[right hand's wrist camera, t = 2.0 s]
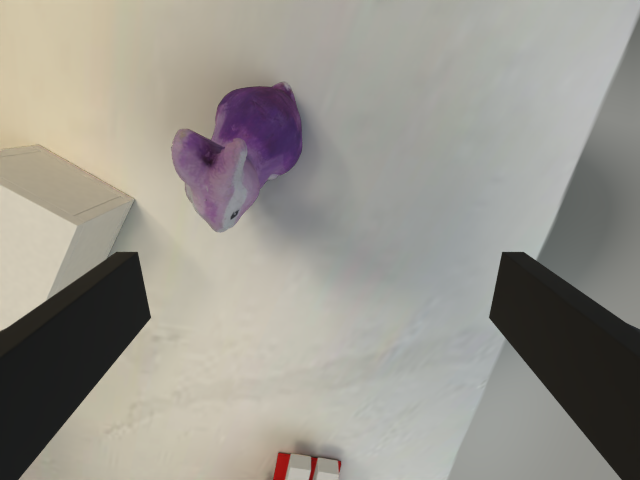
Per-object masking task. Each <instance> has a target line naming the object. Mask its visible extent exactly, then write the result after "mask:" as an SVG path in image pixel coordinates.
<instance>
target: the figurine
mask: <svg viewBox="0 0 640 480" xmlns="http://www.w3.org/2000/svg"><path fill="white" fill-rule="evenodd" d="M215 121H216V125H215V130H214V134H213V136H212V139H211V140H209V139H207V138H205V137H203V136H201V135H199V134H197V133H195V132H193V131H191V130H189V129H180V130H179V131H178V132H177V134H176V135H175V138H174V140H173V145H172V147H171V150H172V159H173V164H174V166H175V170H176V172H177V174H178V175H179V177H180V178H181V179H182V180H183V181H184V182H185V191H186V195H187V197H188V199H189V200H190V202H191V203H192V204H193V206H194V209H195V211H196V212H197V213H198V214H199V215H200V216H201V217H202V218H203V219H204V220H205V221H206V222H207V223H208V224H209V225H210V227H211V228H212V229H213V230H215V231H216V232H224V231H226V230H227V229H228V228H231V227H233V226H234V225H235V224H236V223H237V222H238V220H239V219H240V217H241V216H242V215H243V213H244V212H245V211H246V210H247V209H248V208H249V207H250V206H251V205H252V204H253V203H254V201H255V200H256V198H257V197H258V194H259V190H260V188H261V187H262V186H263V185H264V184H265V182H266V181H267V180H273V179H275V178H276V177H278V176H279V175H282V174H284V173H286V172H287V171H289V170H290V169H291V168H292V167H293V166H294V165H295V164H296V162H297V161H298V158H299V156H300V154H301V151H302V129H301V119H300V115H299V112H298V109H297V106H296V101H295V98H294V94H293V91H292V89H291V87H290V86H289V84H288V83H287V82H280V83H278V84H276V85H274V86H273V87H261V86H259V87H247V88H240V89H236V90H233V91H231V92H230V93H228V94H227V95H226V96H225V97H224V98H223V99H222V101H221V102H220V104H219V105H218V108H217V113H216V119H215Z"/></svg>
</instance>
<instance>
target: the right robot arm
mask: <svg viewBox="0 0 640 480" xmlns="http://www.w3.org/2000/svg"><path fill="white" fill-rule="evenodd" d="M150 318H151V316H150V311H149V306H148V301H147V296H146V291H145V286H144V281H143V276H142V271H141V266H140V261H139V256H138V252H116V253H114V254H113V255H111V256H110V257H109V258H107V259H106V260H104V261H103V262H101V263H100V264H98V265H97V266H96V267H94V268H93V269H91V270H90V271H88V272H87V273H85V274H84V275H83V276H81V277H80V278H78V279H77V280H75V281H74V282H72V283H71V284H69V285H68V286H67V287H65V288H64V289H62V290H61V291H59V292H58V293H56V294H55V295H54V296H52V297H51V298H49V299H48V300H46V301H45V302H43V303H42V304H41V305H39V306H38V307H36V308H35V309H33V310H32V311H30V312H29V313H28V314H26V315H25V316H23V317H22V318H20V319H19V320H17V321H16V322H15V323H13V324H12V325H10V326H9V327H7V328H5V329H3V330H1V331H0V480H18V479H19V478H20V477H21V476H22V475H23V473H24V472H25V471H26V470H27V468H28V467H29V466H30V465H31V464H32V462H33V461H34V460H35V459H36V457H37V456H38V455H39V454H40V453H41V451H42V450H43V449H44V448H45V446H46V445H47V444H48V443H49V442H50V440H51V439H52V438H53V437H54V435H55V434H56V433H57V432H58V431H59V429H60V428H61V427H62V426H63V424H64V423H65V422H66V421H67V420H68V418H69V417H70V416H71V415H72V413H73V412H74V411H75V410H76V409H77V407H78V406H79V405H80V404H81V402H82V401H83V400H84V399H85V398H86V396H87V395H88V394H89V393H90V391H91V390H92V389H93V388H94V387H95V385H96V384H97V383H98V382H99V380H100V379H101V378H102V377H103V376H104V374H105V373H106V372H107V371H108V369H109V368H110V367H111V366H112V365H113V363H114V362H115V361H116V360H117V358H118V357H119V356H120V355H121V354H122V352H123V351H124V350H125V349H126V347H127V346H128V345H129V344H130V343H131V341H132V340H133V339H134V338H135V337H136V335H137V334H138V333H139V332H140V330H141V329H142V328H143V327H144V326H145V324H146V323H147V322H148V321H149V319H150ZM489 318H490V319H491V321H492V322H493V323H494V324H495V326H496V327H497V328H498V329H499V330H500V332H501V333H502V334H503V335H504V337H505V338H506V339H507V340H508V341H509V343H510V344H511V345H512V346H513V347H514V349H515V350H516V351H517V352H518V354H519V355H520V356H521V357H522V358H523V360H524V361H525V362H526V363H527V365H528V366H529V367H530V368H531V369H532V371H533V372H534V373H535V374H536V376H537V377H538V378H539V379H540V380H541V382H542V383H543V384H544V385H545V387H546V388H547V389H548V390H549V391H550V393H551V394H552V395H553V396H554V398H555V399H556V400H557V401H558V402H559V404H560V405H561V406H562V407H563V409H564V410H565V411H566V412H567V413H568V415H569V416H570V417H571V418H572V419H573V421H574V422H575V423H576V424H577V426H578V427H579V428H580V429H581V431H582V432H583V433H584V434H585V435H586V437H587V438H588V439H589V440H590V442H591V443H592V444H593V445H594V446H595V448H596V449H597V450H598V451H599V453H600V454H601V455H602V456H603V457H604V459H605V460H606V461H607V462H608V463H609V465H610V466H611V467H612V468H613V470H614V471H615V472H616V473H617V475H618V476H619V477H620V478H621V479H622V480H640V329H638V328H636V327H634V326H631V325H629V324H627V323H625V322H624V321H623V320H621V319H620V318H618V317H617V316H615V315H614V314H612V313H611V312H610V311H608V310H607V309H605V308H604V307H602V306H601V305H599V304H598V303H596V302H595V301H594V300H592V299H591V298H589V297H588V296H586V295H585V294H584V293H582V292H581V291H579V290H578V289H576V288H575V287H573V286H572V285H570V284H569V283H568V282H566V281H565V280H563V279H562V278H560V277H559V276H557V275H556V274H555V273H553V272H552V271H550V270H549V269H547V268H546V267H544V266H543V265H541V264H540V263H539V262H537V261H536V260H534V259H533V258H531V257H530V256H529V255H527V254H526V253H524V252H502V256H501V261H500V266H499V271H498V276H497V281H496V286H495V291H494V296H493V301H492V306H491V311H490V316H489Z"/></svg>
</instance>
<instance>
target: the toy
mask: <svg viewBox="0 0 640 480" xmlns="http://www.w3.org/2000/svg"><path fill="white" fill-rule="evenodd" d="M340 467H341V461H337V460H331V459H325V458H313V457H311V456H306V455H299V454H293V453H291V455H290V454H283V453H278V458H277V463H276V468H275V473H274V479H273V480H338V477H339V472H340Z"/></svg>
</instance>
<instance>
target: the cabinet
mask: <svg viewBox="0 0 640 480" xmlns="http://www.w3.org/2000/svg"><path fill="white" fill-rule="evenodd" d="M133 202H134V199H133V198H132V197H130V196H128V195H126V194H125V193H123V192H121V191H119V190H118V189H116V188H114V187H112V186H110V185H109V184H107V183H105V182H103V181H102V180H100V179H98V178H96V177H95V176H93V175H91V174H89V173H87V172H86V171H84V170H82V169H80V168H79V167H77V166H75V165H73V164H72V163H70V162H68V161H66V160H65V159H63V158H61V157H59V156H57V155H56V154H54V153H52V152H50V151H49V150H47V149H45V148H43V147H42V146H40V145H32V146H24V147H16V148H7V149H0V331H1V330H3V329H5V328H7V327H9V326H10V325H12V324H13V323H15V322H16V321H17V320H19V319H20V318H22V317H23V316H25V315H26V314H28V313H29V312H30V311H32V310H33V309H35V308H36V307H38V306H39V305H41V304H42V303H43V302H45V301H46V300H48V299H49V298H51V297H52V296H54V295H55V294H56V293H58V292H59V291H61V290H62V289H64V288H65V287H67V286H68V285H69V284H71V283H72V282H74V281H75V280H77V279H78V278H80V277H81V276H83V275H84V274H85V273H87V272H88V271H90V270H91V269H93V268H94V267H96V266H97V265H98V264H100V263H101V262H103V261H104V260H106V259H107V257H108V255H109V253H110V250H111V248H112V246H113V244H114V242H115V240H116V238H117V236H118V233H119V231H120V229H121V227H122V225H123V223H124V221H125V219H126V216H127V214H128V212H129V210H130V208H131V206H132V204H133Z"/></svg>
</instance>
